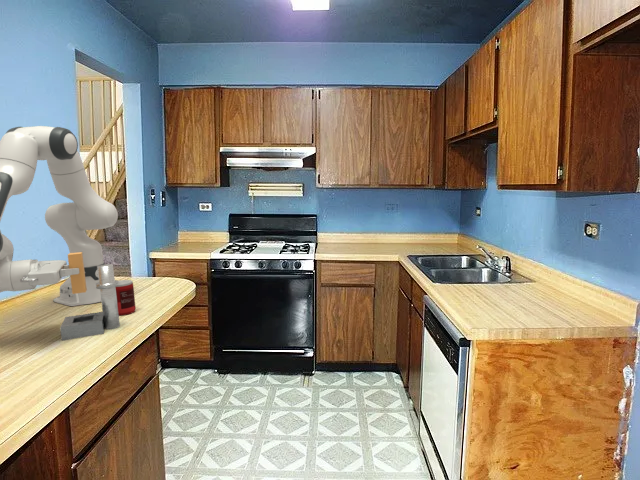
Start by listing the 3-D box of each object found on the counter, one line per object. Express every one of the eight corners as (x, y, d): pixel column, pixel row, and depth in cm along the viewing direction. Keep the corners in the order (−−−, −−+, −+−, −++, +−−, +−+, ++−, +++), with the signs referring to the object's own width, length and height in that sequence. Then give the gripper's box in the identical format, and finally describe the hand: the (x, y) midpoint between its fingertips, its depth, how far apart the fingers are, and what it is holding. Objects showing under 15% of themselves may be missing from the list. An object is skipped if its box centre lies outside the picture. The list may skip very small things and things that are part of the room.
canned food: (116, 310, 153) (113, 280, 151) (139, 308, 153) (136, 279, 152) (107, 316, 145) (104, 285, 144) (131, 315, 146) (128, 284, 144)
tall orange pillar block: (72, 293, 127) (67, 254, 125) (73, 291, 130) (69, 253, 129) (85, 292, 128) (80, 253, 127) (86, 289, 132) (82, 252, 130)
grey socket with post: (61, 340, 124) (53, 274, 121) (67, 329, 134) (58, 267, 131) (122, 330, 131) (115, 267, 128) (123, 320, 141) (116, 261, 138)
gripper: (16, 270, 113) (74, 264, 119) (32, 258, 132) (82, 254, 137) (19, 293, 114) (77, 286, 120) (35, 278, 133) (84, 273, 138)
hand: (80, 269), depth 129 cm, fingers closed on tall orange pillar block, 3 cm apart
